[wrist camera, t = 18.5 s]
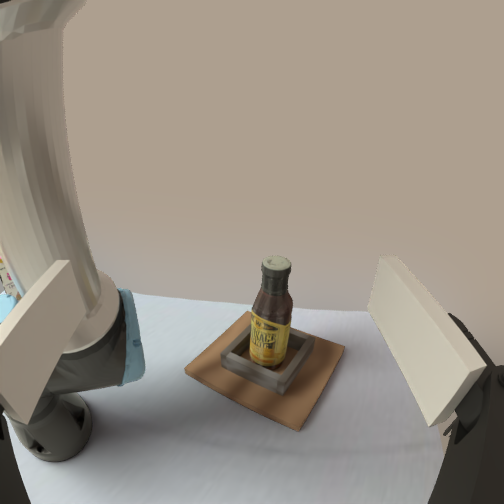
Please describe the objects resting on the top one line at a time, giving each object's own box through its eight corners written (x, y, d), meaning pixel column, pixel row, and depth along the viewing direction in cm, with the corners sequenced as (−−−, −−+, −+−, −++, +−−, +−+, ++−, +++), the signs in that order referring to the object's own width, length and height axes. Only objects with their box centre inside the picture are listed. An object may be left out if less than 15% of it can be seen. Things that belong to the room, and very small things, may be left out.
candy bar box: (15, 316, 56) (-7, 261, 48) (14, 307, 59) (-7, 254, 51) (48, 301, 63) (29, 246, 56) (45, 293, 66) (28, 240, 59)
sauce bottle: (242, 359, 49) (240, 260, 40) (266, 342, 53) (270, 246, 44) (270, 379, 45) (277, 277, 36) (293, 359, 49) (306, 261, 40)
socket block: (185, 373, 48) (181, 354, 45) (247, 316, 63) (247, 297, 60) (298, 431, 37) (303, 415, 35) (343, 351, 52) (348, 332, 50)
